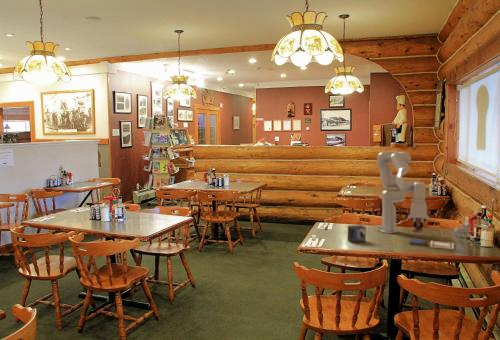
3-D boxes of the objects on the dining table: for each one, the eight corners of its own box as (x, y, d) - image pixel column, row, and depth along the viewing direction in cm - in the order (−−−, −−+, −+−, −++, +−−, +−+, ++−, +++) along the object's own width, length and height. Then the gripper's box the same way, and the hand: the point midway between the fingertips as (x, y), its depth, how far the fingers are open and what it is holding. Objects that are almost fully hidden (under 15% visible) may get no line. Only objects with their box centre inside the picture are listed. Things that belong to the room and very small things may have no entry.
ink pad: (409, 244, 280) (409, 242, 280) (411, 240, 291) (411, 238, 291) (424, 245, 276) (424, 243, 276) (425, 241, 287) (425, 239, 287)
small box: (351, 243, 284) (351, 227, 283) (347, 240, 290) (347, 225, 289) (365, 242, 286) (366, 227, 285) (361, 239, 292) (361, 225, 291)
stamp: (413, 233, 281) (413, 215, 280) (413, 231, 286) (414, 214, 285) (422, 233, 278) (423, 216, 277) (423, 232, 284) (423, 214, 283)
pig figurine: (474, 237, 297) (474, 222, 296) (457, 238, 296) (457, 223, 295) (469, 235, 302) (470, 221, 301) (452, 236, 301) (453, 221, 300)
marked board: (429, 246, 274) (430, 245, 274) (430, 241, 286) (430, 240, 286) (453, 249, 268) (453, 247, 268) (453, 244, 280) (453, 242, 280)
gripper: (405, 200, 281) (404, 228, 282) (432, 202, 274) (431, 230, 275) (406, 199, 288) (405, 225, 289) (432, 200, 281) (431, 227, 282)
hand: (418, 227), depth 282 cm, fingers closed on stamp, 3 cm apart
